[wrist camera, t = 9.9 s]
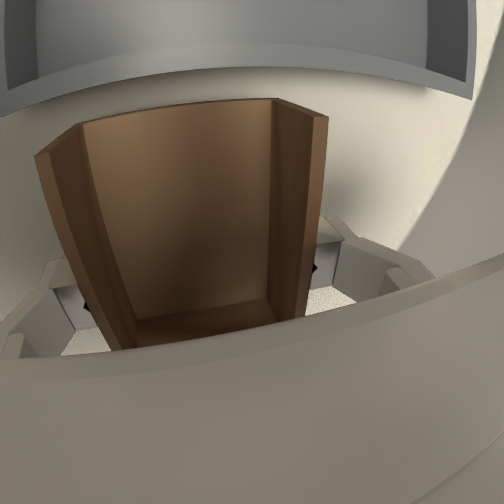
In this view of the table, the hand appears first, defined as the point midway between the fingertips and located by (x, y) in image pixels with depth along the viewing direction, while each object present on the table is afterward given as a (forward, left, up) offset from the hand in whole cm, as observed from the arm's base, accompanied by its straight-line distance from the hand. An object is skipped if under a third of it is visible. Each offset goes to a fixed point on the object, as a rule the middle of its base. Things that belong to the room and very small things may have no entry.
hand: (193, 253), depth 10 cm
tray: (+4, +12, -5) cm, 14 cm away
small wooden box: (0, 0, -2) cm, 2 cm away
